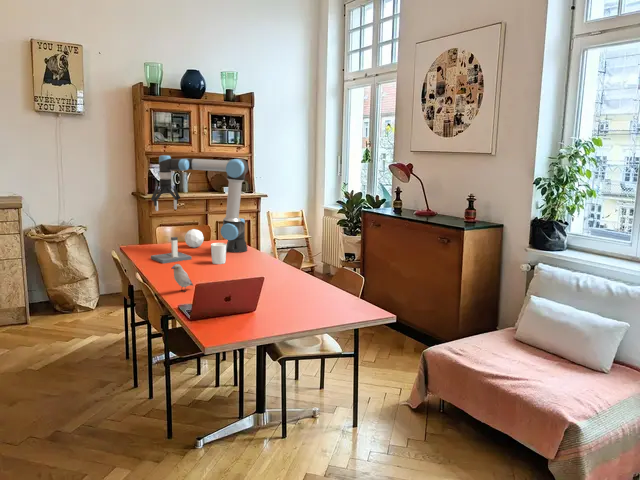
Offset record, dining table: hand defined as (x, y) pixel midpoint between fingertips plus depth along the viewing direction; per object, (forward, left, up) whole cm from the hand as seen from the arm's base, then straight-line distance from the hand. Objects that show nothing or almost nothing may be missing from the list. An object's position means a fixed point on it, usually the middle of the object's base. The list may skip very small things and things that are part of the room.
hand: (166, 210), depth 364 cm
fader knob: (+9, +28, -26) cm, 40 cm away
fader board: (+9, +23, -29) cm, 38 cm away
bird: (+39, +94, -29) cm, 106 cm away
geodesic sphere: (-22, -2, -29) cm, 36 cm away
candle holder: (-10, +50, -29) cm, 59 cm away
